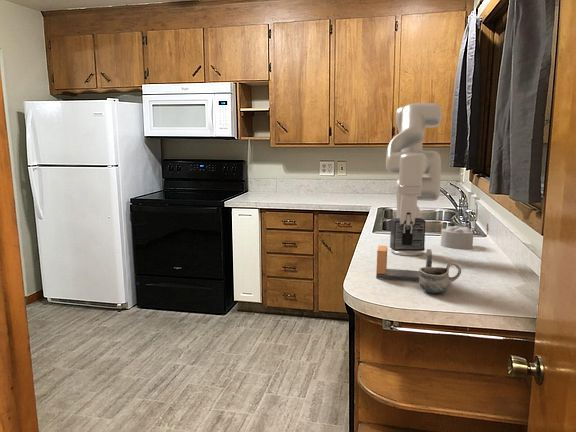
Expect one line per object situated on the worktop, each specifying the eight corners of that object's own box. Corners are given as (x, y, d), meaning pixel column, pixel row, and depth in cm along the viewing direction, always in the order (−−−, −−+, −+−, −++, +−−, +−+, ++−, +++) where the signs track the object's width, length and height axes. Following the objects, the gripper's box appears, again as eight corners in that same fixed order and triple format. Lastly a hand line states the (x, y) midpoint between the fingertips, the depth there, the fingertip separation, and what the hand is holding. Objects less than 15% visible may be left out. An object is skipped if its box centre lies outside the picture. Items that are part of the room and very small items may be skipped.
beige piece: (473, 249, 206) (474, 230, 205) (441, 248, 209) (442, 228, 208) (469, 244, 216) (471, 225, 215) (439, 242, 219) (440, 224, 218)
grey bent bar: (377, 272, 172) (378, 246, 170) (429, 275, 168) (431, 249, 166) (376, 278, 164) (377, 251, 163) (430, 282, 160) (432, 255, 158)
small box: (419, 246, 167) (421, 217, 165) (424, 251, 161) (426, 220, 159) (389, 246, 167) (390, 217, 165) (393, 251, 161) (394, 220, 159)
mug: (415, 286, 156) (416, 256, 154) (454, 287, 155) (456, 257, 154) (421, 296, 147) (423, 264, 145) (463, 297, 146) (465, 265, 144)
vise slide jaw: (377, 267, 172) (378, 245, 170) (386, 267, 171) (387, 245, 169) (376, 273, 164) (377, 250, 163) (385, 274, 163) (386, 251, 162)
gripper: (398, 187, 170) (396, 236, 173) (397, 193, 153) (395, 247, 156) (420, 188, 168) (418, 238, 171) (421, 194, 151) (418, 248, 154)
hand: (407, 242), depth 163 cm, fingers closed on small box, 7 cm apart
